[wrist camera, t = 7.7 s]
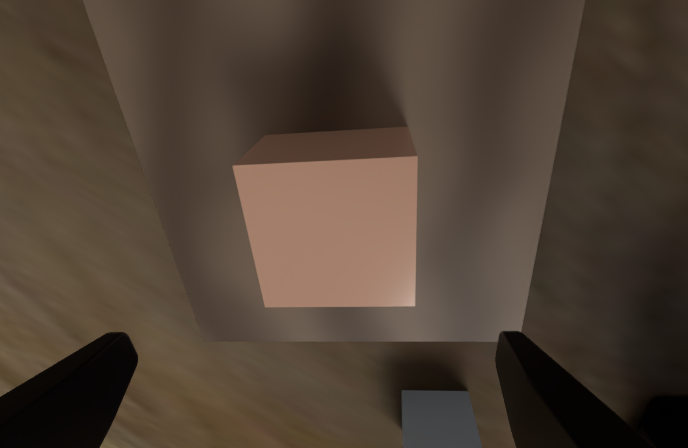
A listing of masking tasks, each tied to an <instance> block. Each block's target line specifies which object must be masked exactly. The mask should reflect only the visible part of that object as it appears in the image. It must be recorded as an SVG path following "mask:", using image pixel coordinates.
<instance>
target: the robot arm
mask: <svg viewBox="0 0 688 448" xmlns="http://www.w3.org/2000/svg"><path fill="white" fill-rule="evenodd" d="M495 361H496V368H497V373H498V377H499V381H500V385H501V390H502V394H503V398H504V402H505V407H506V411H507V415H508V419H509V424H510V428H511V432H512V435H513V439H514V442H515V445H516V448H688V398H656V399H654V400H652V401H651V403H650V405H649V407H648V409H647V411H646V413H645V415H644V418H643V420H642V422H641V424H640V426H639V428H638V430H637V431H636V430H635V429H633V428H632V427H631V426H630V425H629V424H628V423H626V422H625V421H624V420H623V419H622V418H621V417H619V416H618V415H617V414H616V413H615V412H614V411H612V410H611V409H610V408H609V407H608V406H607V405H605V404H604V403H603V402H602V401H601V400H600V399H598V398H597V397H596V396H595V395H594V394H593V393H592V392H590V391H589V390H588V389H587V388H586V387H585V386H583V385H582V384H581V383H580V382H579V381H578V380H576V379H575V378H574V377H573V376H572V375H571V374H569V373H568V372H567V371H566V370H565V369H564V368H562V367H561V366H560V365H559V364H558V363H557V362H555V361H554V360H553V359H552V358H551V357H550V356H549V355H547V354H546V353H545V352H544V351H543V350H542V349H540V348H539V347H538V346H537V345H536V344H535V343H533V342H532V341H531V340H530V339H529V338H528V337H526V336H525V335H524V334H523V333H521V332H520V331H502V332H500V334H499V338H498V344H497V350H496V357H495ZM137 363H138V355H137V352H136V350H135V348H134V346H133V344H132V342H131V340H130V338H129V336H128V335H127V334H126V333H124V332H110V333H106V334H105V335H103V336H101V337H99V338H98V339H96V340H94V341H93V342H91V343H89V344H88V345H86V346H84V347H83V348H81V349H79V350H78V351H76V352H74V353H73V354H71V355H69V356H68V357H66V358H64V359H63V360H61V361H59V362H58V363H56V364H54V365H53V366H51V367H49V368H48V369H46V370H44V371H43V372H41V373H39V374H38V375H36V376H34V377H33V378H31V379H29V380H28V381H26V382H24V383H23V384H21V385H19V386H18V387H16V388H14V389H13V390H11V391H9V392H7V393H6V394H4V395H2V396H1V397H0V448H100V446H101V444H102V442H103V440H104V438H105V436H106V435H107V433H108V431H109V429H110V427H111V425H112V422H113V420H114V418H115V416H116V413H117V411H118V409H119V406H120V404H121V402H122V399H123V397H124V395H125V392H126V390H127V388H128V385H129V383H130V381H131V378H132V376H133V374H134V371H135V369H136V367H137Z"/></svg>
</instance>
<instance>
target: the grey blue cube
mask: <svg viewBox="0 0 688 448" xmlns="http://www.w3.org/2000/svg"><path fill="white" fill-rule="evenodd" d="M402 437H403V448H482V444H481V440H480V436H479V432H478V429H477V425H476V421H475V417H474V413H473V409H472V405H471V401H470V397H469V393H468V391H422V390H402Z"/></svg>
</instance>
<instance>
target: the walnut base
mask: <svg viewBox="0 0 688 448" xmlns="http://www.w3.org/2000/svg"><path fill="white" fill-rule="evenodd" d="M83 3H84V6H85V8H86V11H87V14H88V17H89V20H90V22H91V25H92V28H93V31H94V34H95V37H96V39H97V42H98V45H99V48H100V51H101V53H102V56H103V59H104V62H105V65H106V67H107V70H108V73H109V76H110V79H111V82H112V84H113V87H114V90H115V93H116V96H117V98H118V101H119V104H120V107H121V110H122V112H123V115H124V118H125V121H126V124H127V127H128V129H129V132H130V135H131V138H132V141H133V143H134V146H135V149H136V152H137V155H138V157H139V160H140V163H141V166H142V169H143V171H144V174H145V177H146V180H147V183H148V186H149V188H150V191H151V194H152V197H153V200H154V202H155V205H156V208H157V211H158V214H159V216H160V219H161V222H162V225H163V228H164V231H165V233H166V236H167V239H168V242H169V245H170V247H171V250H172V253H173V256H174V259H175V261H176V264H177V267H178V270H179V273H180V276H181V278H182V281H183V284H184V287H185V290H186V292H187V295H188V298H189V301H190V304H191V306H192V309H193V312H194V315H195V318H196V320H197V323H198V326H199V329H200V332H201V335H202V337H203V340H204V341H469V342H498V338H499V334H500V332H502V331H520V332H521V329H522V324H523V319H524V314H525V309H526V303H527V298H528V293H529V288H530V283H531V278H532V272H533V267H534V262H535V257H536V252H537V247H538V241H539V236H540V231H541V226H542V221H543V216H544V210H545V205H546V200H547V195H548V190H549V185H550V180H551V174H552V169H553V164H554V159H555V154H556V149H557V143H558V138H559V133H560V128H561V123H562V118H563V112H564V107H565V102H566V97H567V92H568V87H569V81H570V76H571V71H572V66H573V61H574V56H575V50H576V45H577V40H578V35H579V30H580V25H581V19H582V14H583V9H584V4H585V0H83ZM391 127H408V128H409V131H410V134H411V137H412V140H413V143H414V146H415V149H416V153H417V156H418V168H417V227H416V287H415V306H392V307H265V305H264V301H263V297H262V292H261V288H260V284H259V279H258V275H257V271H256V266H255V262H254V258H253V253H252V249H251V245H250V240H249V236H248V232H247V227H246V223H245V219H244V214H243V210H242V205H241V201H240V197H239V192H238V188H237V184H236V179H235V175H234V171H233V166H232V165H234V164H235V163H236V162H237V161H238V160H239V159H240V158H241V157H242V156H243V155H244V154H245V153H246V152H248V151H249V150H250V149H251V148H252V147H253V146H254V145H255V144H256V143H257V142H258V141H259V140H261V139H262V138H263V137H264V136H265V135H274V134H291V133H308V132H324V131H341V130H358V129H375V128H391Z"/></svg>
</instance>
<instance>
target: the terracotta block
mask: <svg viewBox="0 0 688 448" xmlns="http://www.w3.org/2000/svg"><path fill="white" fill-rule="evenodd" d="M232 166H233V171H234V175H235V179H236V184H237V188H238V192H239V197H240V201H241V205H242V210H243V214H244V219H245V223H246V227H247V232H248V236H249V240H250V245H251V249H252V253H253V258H254V262H255V266H256V271H257V275H258V279H259V284H260V288H261V292H262V297H263V301H264V305H265V307H392V306H415V287H416V227H417V168H418V156H417V153H416V149H415V146H414V143H413V140H412V137H411V134H410V131H409V128H408V127H391V128H375V129H358V130H341V131H324V132H308V133H291V134H274V135H265V136H264V137H263V138H262V139H261V140H259V141H258V142H257V143H256V144H255V145H254V146H253V147H252V148H251V149H250V150H249V151H248V152H246V153H245V154H244V155H243V156H242V157H241V158H240V159H239V160H238V161H237V162H236V163H235V164H234V165H232Z"/></svg>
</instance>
